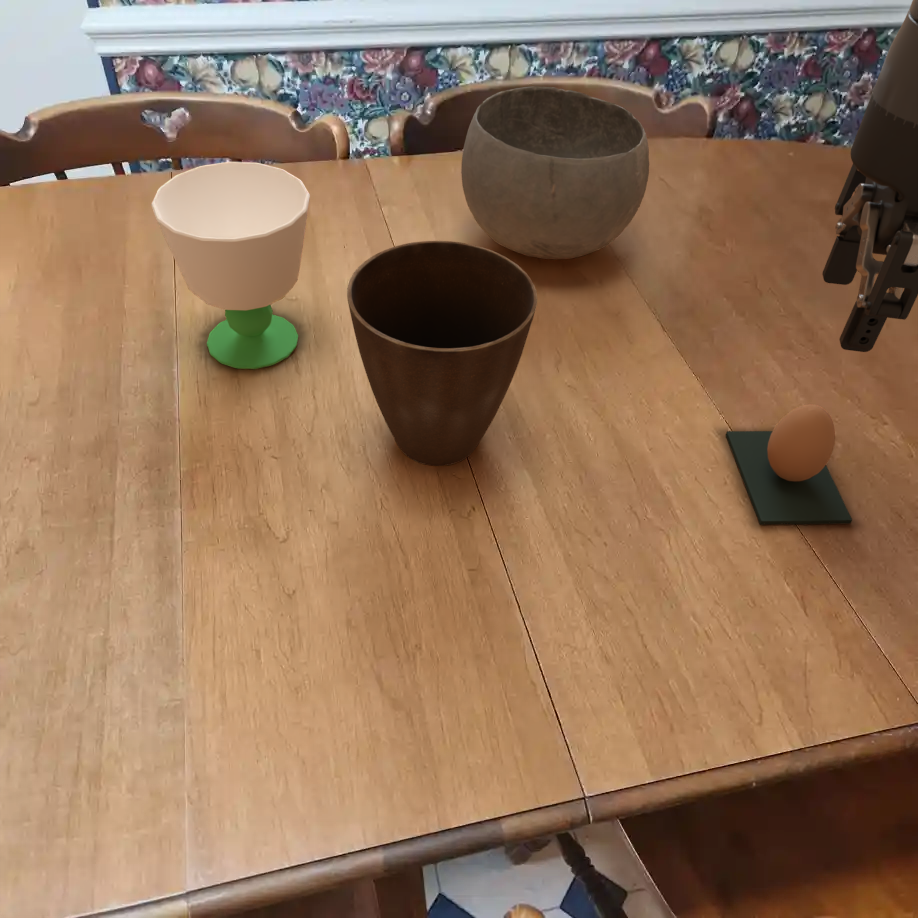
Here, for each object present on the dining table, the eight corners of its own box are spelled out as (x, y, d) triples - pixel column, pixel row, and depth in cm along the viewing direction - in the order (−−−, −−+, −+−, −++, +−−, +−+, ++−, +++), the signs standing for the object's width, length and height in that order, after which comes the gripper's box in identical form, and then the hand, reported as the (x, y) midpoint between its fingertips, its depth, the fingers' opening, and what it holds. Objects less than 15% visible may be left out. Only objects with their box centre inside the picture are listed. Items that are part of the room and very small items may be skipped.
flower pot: (347, 390, 85) (338, 244, 73) (499, 377, 87) (513, 234, 76) (364, 506, 75) (357, 358, 63) (535, 487, 77) (558, 341, 66)
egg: (798, 505, 76) (830, 439, 71) (746, 473, 79) (773, 407, 73) (827, 475, 79) (860, 410, 73) (776, 445, 81) (804, 380, 76)
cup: (328, 377, 86) (317, 234, 75) (182, 392, 83) (148, 246, 72) (315, 295, 95) (303, 157, 84) (183, 306, 93) (153, 165, 81)
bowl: (640, 296, 98) (669, 170, 87) (455, 286, 97) (462, 158, 87) (620, 202, 112) (644, 83, 102) (459, 193, 112) (465, 73, 101)
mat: (850, 523, 76) (852, 520, 75) (759, 525, 75) (761, 521, 75) (808, 434, 83) (809, 430, 83) (725, 434, 83) (726, 431, 82)
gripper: (1035, 159, 50) (915, 380, 61) (970, 60, 59) (877, 266, 71) (898, 144, 50) (805, 366, 62) (856, 49, 60) (782, 255, 72)
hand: (844, 313), depth 66 cm, fingers open, 8 cm apart
